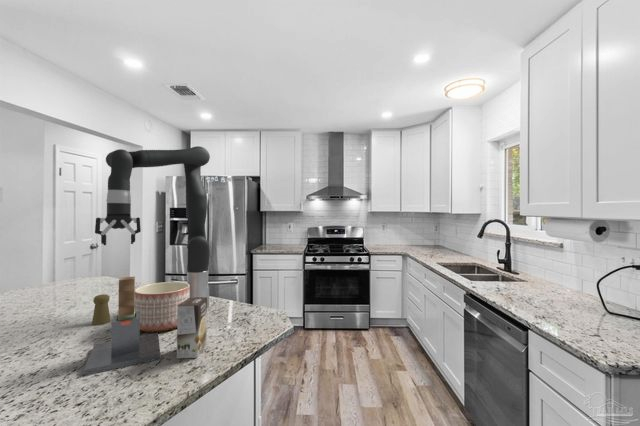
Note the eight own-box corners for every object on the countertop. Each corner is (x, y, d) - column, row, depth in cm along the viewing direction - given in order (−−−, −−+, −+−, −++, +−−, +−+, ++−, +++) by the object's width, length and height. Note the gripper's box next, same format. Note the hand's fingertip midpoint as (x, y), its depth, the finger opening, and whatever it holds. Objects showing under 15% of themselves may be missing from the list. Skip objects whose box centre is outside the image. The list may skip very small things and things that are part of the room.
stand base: (158, 336, 102) (158, 304, 102) (160, 358, 86) (160, 320, 87) (94, 348, 92) (94, 313, 92) (84, 375, 77) (84, 333, 77)
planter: (199, 319, 119) (200, 283, 119) (160, 338, 101) (160, 296, 101) (164, 313, 125) (164, 280, 125) (121, 330, 107) (122, 291, 107)
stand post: (134, 325, 92) (135, 276, 93) (134, 330, 89) (135, 278, 89) (118, 328, 90) (119, 277, 90) (117, 333, 86) (118, 280, 87)
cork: (100, 325, 111) (100, 297, 111) (87, 324, 112) (88, 296, 113) (114, 320, 117) (114, 293, 117) (102, 319, 118) (102, 292, 118)
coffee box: (197, 358, 87) (198, 305, 87) (176, 359, 86) (176, 305, 86) (207, 344, 96) (207, 296, 96) (187, 345, 95) (188, 297, 96)
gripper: (140, 203, 117) (140, 242, 116) (96, 202, 109) (96, 244, 109) (140, 202, 110) (140, 244, 110) (94, 201, 103) (93, 246, 103)
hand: (118, 244), depth 109 cm, fingers open, 8 cm apart
